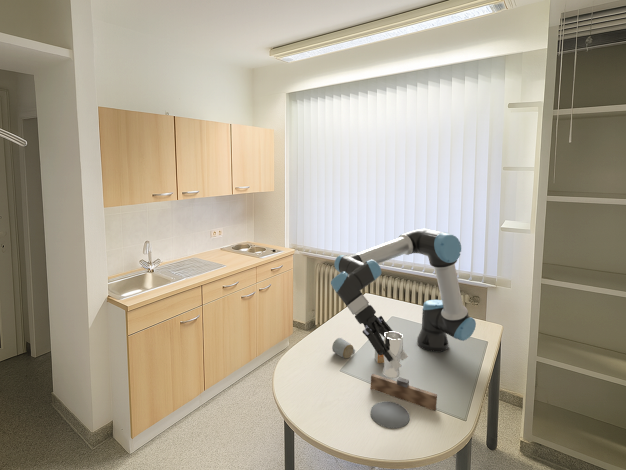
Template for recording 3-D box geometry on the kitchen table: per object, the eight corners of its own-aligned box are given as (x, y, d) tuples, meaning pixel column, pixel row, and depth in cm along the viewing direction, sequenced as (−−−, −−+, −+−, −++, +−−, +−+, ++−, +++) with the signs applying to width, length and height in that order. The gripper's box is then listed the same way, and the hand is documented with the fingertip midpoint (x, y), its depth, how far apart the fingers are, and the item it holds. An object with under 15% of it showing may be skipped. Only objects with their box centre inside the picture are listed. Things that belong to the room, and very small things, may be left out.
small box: (377, 363, 172) (378, 342, 170) (374, 357, 178) (375, 336, 176) (394, 363, 173) (395, 342, 171) (390, 356, 178) (392, 336, 176)
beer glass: (379, 368, 139) (381, 331, 136) (397, 368, 140) (400, 330, 137) (384, 379, 133) (386, 340, 130) (403, 378, 133) (406, 339, 130)
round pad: (404, 403, 145) (404, 401, 144) (413, 428, 131) (413, 427, 131) (368, 402, 145) (368, 401, 145) (373, 427, 131) (373, 426, 131)
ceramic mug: (343, 361, 174) (344, 346, 172) (331, 354, 180) (332, 339, 178) (359, 354, 181) (359, 339, 179) (346, 348, 187) (347, 333, 185)
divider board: (370, 389, 153) (370, 371, 152) (372, 386, 155) (373, 368, 154) (434, 411, 140) (436, 392, 138) (436, 408, 142) (437, 389, 140)
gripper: (365, 306, 148) (403, 355, 143) (342, 324, 132) (384, 380, 127) (379, 296, 145) (417, 346, 139) (357, 313, 128) (400, 371, 123)
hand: (401, 362), depth 133 cm, fingers closed on beer glass, 6 cm apart
